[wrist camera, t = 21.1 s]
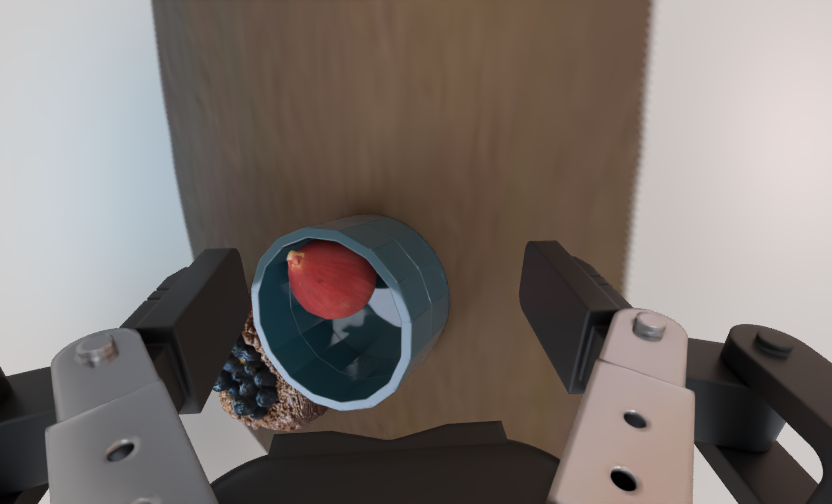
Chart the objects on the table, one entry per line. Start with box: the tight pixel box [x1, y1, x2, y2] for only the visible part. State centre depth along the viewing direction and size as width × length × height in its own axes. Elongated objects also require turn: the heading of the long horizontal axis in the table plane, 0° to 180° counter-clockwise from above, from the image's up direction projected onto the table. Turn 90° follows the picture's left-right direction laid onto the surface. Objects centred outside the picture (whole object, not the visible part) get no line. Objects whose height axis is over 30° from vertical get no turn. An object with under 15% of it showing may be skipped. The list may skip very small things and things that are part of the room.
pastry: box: [213, 301, 328, 432], centre depth 36 cm, size 11×12×6 cm
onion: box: [287, 239, 377, 319], centre depth 28 cm, size 6×6×8 cm
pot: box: [251, 215, 450, 411], centre depth 29 cm, size 12×12×7 cm
